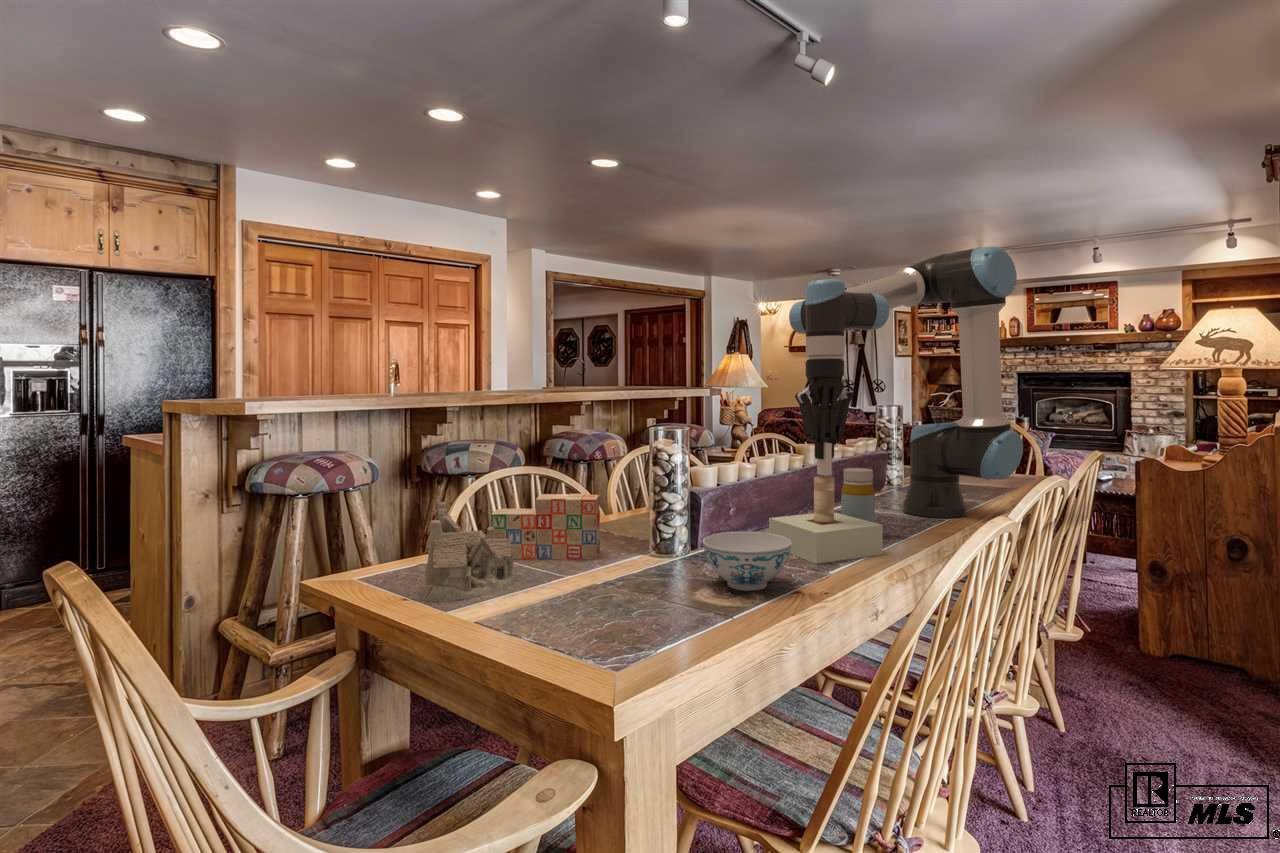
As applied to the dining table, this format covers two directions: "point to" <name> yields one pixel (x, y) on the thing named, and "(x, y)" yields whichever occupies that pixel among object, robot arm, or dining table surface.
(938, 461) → the robot arm
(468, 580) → the ceramic cottage
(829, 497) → the ash dowel
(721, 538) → the chinaware
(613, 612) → the dining table surface
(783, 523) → the sage socket block
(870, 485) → the bottle
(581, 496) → the stack of blocks
